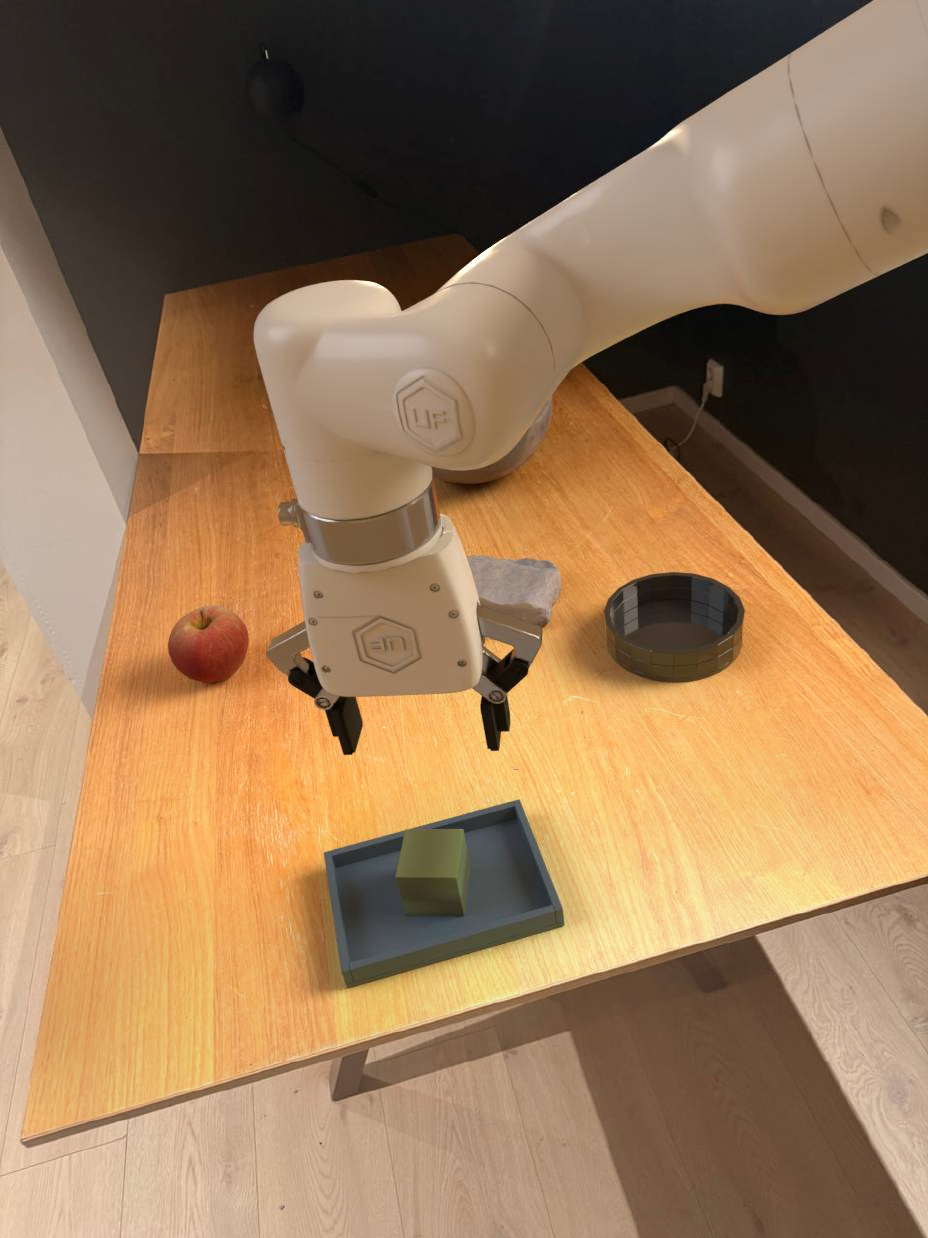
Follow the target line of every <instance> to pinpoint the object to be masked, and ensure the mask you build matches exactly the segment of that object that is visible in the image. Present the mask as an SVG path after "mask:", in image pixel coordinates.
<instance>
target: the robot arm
mask: <svg viewBox="0 0 928 1238" xmlns="http://www.w3.org/2000/svg"><path fill="white" fill-rule="evenodd" d="M926 254H928V0H872V1H870V2H869V3H867V4H865V5H863V6H861V8H859V9H857V10H856V11H854V12H853V13H851V14H850V15H848V16H847V17H845V18H843V19H842V20H840V21H839V22H837V23H835V24H834V25H832V26H831V27H829V28H827V30H825V31H822V33H820V34H818V35H816V36H815V37H814V38H812V39H811V40H809V41H807V42H806V43H804V44H803V45H801V46H800V47H798V48H796V49H795V50H793V51H792V52H790V53H789V54H787V55H786V56H784V57H783V58H781V59H779V60H778V61H776V62H774V63H773V64H771V65H770V66H768V67H766V68H765V69H763V70H762V71H760V72H759V73H758V74H756V75H754V76H752V77H751V78H749V79H747V80H746V81H744V82H742V83H741V84H739V85H738V86H736V87H734V88H733V89H730V90H729V91H727V92H726V93H725V94H723V95H722V96H720V97H718V98H717V99H716V100H714V101H713V102H710V103H709V104H708V105H706V106H705V107H703V108H702V109H700V110H698V111H697V112H695V113H694V114H692V115H690V116H689V117H687V118H686V119H684V120H682V121H681V122H680V123H679V124H676V126H675V127H673V128H672V129H671V130H669V131H668V132H667V133H666V134H664V135H663V137H661V138H660V139H659V140H657V141H656V142H655V143H654V144H652V145H651V146H649V147H647V148H646V149H645V150H643V151H642V152H640V153H638V154H637V155H635V156H633V157H632V158H630V159H628V160H627V161H626V162H623V163H622V164H620V165H619V166H617V167H615V168H614V169H612V170H611V171H609V172H607V173H606V174H604V175H603V176H600V177H598V178H597V179H596V180H594V181H592V182H591V183H589V184H588V185H586V186H584V187H583V188H581V189H580V190H578V191H577V192H575V193H573V194H571V195H570V196H569V197H567V198H566V199H564V200H562V201H560V202H559V203H558V204H556V205H554V206H553V207H551V208H550V209H548V210H547V211H545V212H543V213H542V214H541V215H539V216H537V217H535V218H534V219H532V220H531V221H528V223H526V224H524V225H522V226H521V227H520V228H518V229H517V230H515V231H513V232H512V233H510V234H508V235H507V236H506V237H504V238H503V239H501V240H499V241H498V242H496V243H495V244H493V245H492V246H491V247H489V248H487V249H486V250H484V251H483V252H481V253H480V254H479V255H478V256H477V257H475V258H474V259H472V260H471V261H470V262H468V264H466V265H465V266H464V267H462V268H461V269H460V270H458V271H457V272H456V273H455V274H454V275H453V276H452V277H451V278H449V280H447V281H446V282H445V283H444V284H443V285H442V286H441V287H440V288H439V289H437V290H436V291H435V292H434V293H433V294H431V295H430V296H428V297H426V298H424V299H423V300H421V301H419V302H417V303H415V304H413V305H411V306H409V307H408V308H405V309H404V310H402V308H401V306H400V304H399V302H398V300H397V298H396V297H395V295H394V294H392V292H391V291H390V290H389V289H388V288H386V287H384V286H383V285H380V284H378V283H376V282H373V281H368V280H367V281H366V280H357V279H344V280H341V279H340V280H331V281H325V282H318V283H315V284H310V285H305V286H303V287H299V288H296V289H294V290H291V291H289V292H287V293H284V294H282V295H280V296H278V297H276V298H275V299H273V300H271V301H269V303H266V305H265V306H264V307H263V308H262V309H261V311H259V313H258V315H257V316H256V319H255V321H254V326H253V344H254V349H255V354H256V359H257V362H258V365H259V368H260V373H261V375H262V379H263V382H264V386H265V390H266V393H267V397H268V400H269V401H268V402H269V404H270V407H271V411H272V415H273V418H274V421H275V425H276V429H277V433H278V437H279V439H280V443H281V446H282V450H283V453H284V457H285V460H286V464H287V467H288V471H289V475H290V479H291V481H292V486H293V488H294V493H295V496H296V498H293V499H291V500H290V501H284V502H280V503H279V504H278V507H277V517H278V521H279V523H280V525H281V526H283V527H287V526H293V527H295V528H299V529H300V530H301V531H302V533H303V538H304V541H303V542H302V544H301V545H300V547H299V549H298V552H297V566H298V567H297V569H298V580H299V581H298V582H299V589H300V599H301V605H302V611H303V618H304V620H303V621H302V622H300V623H298V624H296V625H294V626H293V627H290V628H289V629H287V630H286V631H284V632H282V633H281V634H279V635H276V636H275V637H273V638H271V640H270V642H269V645H268V647H267V649H266V652H265V656H266V658H267V660H269V661H270V662H271V663H272V665H274V666H275V668H277V669H278V671H279V672H281V673H282V674H283V675H285V676H287V681H288V684H290V685H291V686H292V687H294V688H296V689H297V690H299V691H300V692H302V693H304V694H305V695H307V696H308V697H310V698H312V699H314V700H313V703H314V706H315V707H316V708H317V709H318V710H321V711H324V713H325V715H326V719H327V723H328V727H329V729H330V732H331V735H332V737H333V738H338V742H339V745H340V748H341V752H342V753H343V756H352V755H353V754H355V753H356V751H357V747H358V745H359V741H360V737H361V734H362V731H363V727H364V722H363V718H362V714H361V711H360V706H359V703H358V701H357V698H365V697H366V698H368V697H369V698H370V697H392V696H393V697H396V696H397V697H399V696H419V695H421V696H423V695H444V694H455V693H456V694H457V693H462V692H466V691H469V690H471V689H472V690H474V691H475V692H476V693H478V694H479V695H480V696H481V698H480V704H479V706H480V716H481V721H482V726H483V731H484V736H485V743H486V748H487V750H490V752H499V751H500V747H501V738H502V737H501V736H502V732H505V733H506V732H507V733H508V732H511V731H510V729H511V710H510V705H509V697H508V693H509V692H511V691H512V689H514V688H515V687H516V686H517V685H518V684H520V683H521V681H522V680H524V679H525V678H526V677H527V676H528V674H529V669H530V668H531V665H532V664H534V661H535V659H536V657H537V656H538V653H539V651H540V649H541V648H542V644H543V632H544V631H543V628H542V627H540V626H538V625H536V624H533V623H530V622H527V621H524V620H521V619H518V618H515V617H513V616H510V615H507V614H504V613H501V612H498V611H495V610H492V609H489V608H487V607H484V606H481V605H480V601H479V597H478V593H477V590H476V586H475V582H474V579H473V575H472V572H471V569H470V566H469V563H468V560H467V557H468V556H467V554H466V552H465V548H464V546H463V544H462V541H461V539H460V536H459V534H458V531H457V529H456V527H455V525H454V523H453V521H452V519H451V518H450V517H449V516H448V515H447V514H444V513H443V514H442V513H441V511H440V506H439V500H438V495H437V489H436V485H435V478H434V477H433V473H432V467H436V468H441V469H448V470H460V471H465V470H474V469H479V468H483V467H485V466H488V465H491V464H493V463H495V462H497V461H498V460H500V459H501V458H503V457H504V456H505V455H507V454H508V453H509V452H510V451H511V450H512V449H513V448H514V447H515V445H516V444H517V443H518V442H519V441H520V439H521V438H522V437H523V435H524V434H525V433H526V431H527V430H528V428H529V427H530V425H531V424H532V423H533V421H534V420H535V418H536V417H537V416H538V414H539V413H540V412H541V410H542V408H543V407H544V405H545V404H546V402H547V401H548V400H549V398H550V397H553V395H554V393H555V392H556V391H557V388H558V387H559V386H560V384H561V383H562V382H563V381H564V380H565V378H566V377H567V376H568V374H569V373H570V371H571V370H573V369H574V368H575V367H576V366H578V365H580V364H581V363H583V362H585V361H586V360H588V359H589V358H591V357H593V356H594V355H597V354H598V353H600V352H602V351H604V350H606V349H608V348H610V347H612V346H613V345H616V344H617V343H620V342H622V341H623V340H625V339H627V338H630V337H632V336H633V335H636V334H639V333H640V332H641V331H643V330H644V331H645V330H646V329H647V328H649V327H652V326H654V325H656V324H658V323H660V322H663V321H665V320H668V319H670V318H672V317H675V316H677V315H681V314H683V313H686V312H688V311H691V310H694V309H699V308H703V307H708V306H714V305H715V306H716V305H734V306H740V307H744V308H746V309H749V310H753V311H755V312H759V313H763V314H766V315H774V316H786V315H795V314H799V313H802V312H805V311H808V310H810V309H812V308H814V307H817V306H819V305H821V304H823V303H825V302H828V301H829V300H832V299H834V298H835V297H838V296H840V295H841V294H844V293H846V292H848V291H849V290H853V289H854V288H856V287H859V286H860V285H862V284H865V283H867V282H869V281H871V280H873V279H875V278H877V277H879V276H881V275H884V274H885V273H888V272H890V271H892V270H895V269H897V268H898V267H901V266H903V265H905V264H907V263H909V262H911V261H913V260H915V259H918V258H920V257H923V256H924V255H926ZM486 638H488V639H490V640H494V641H496V642H500V643H503V644H506V645H509V646H511V647H513V648H512V649H511V650H510V651H509V652H508V653H507V654H506V655H505V656H504V657H503V658H502V659H501V658H500V657H498V656H497V655H496V654H495V653H494V652H492V651H491V650H490V649H488V648H487V647H486V646H485V643H486ZM307 649H309V650H310V653H311V658H312V660H310V659H309V658H308V657H306V656H305V657H303V654H302V652H304V651H306V650H307Z"/></svg>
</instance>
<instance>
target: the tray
mask: <svg viewBox="0 0 928 1238" xmlns="http://www.w3.org/2000/svg"><path fill="white" fill-rule="evenodd" d="M410 829H463V830H464V834H465V840H466V845H467V850H468V855H469V860H470V866H471V871H470V878H469V886H468V893H467V901H466V908H465V915H464V916H419V915H405V911H404V908H403V904H402V900H401V896H400V893H399V889H398V885H397V881H396V878H395V876H396V871H397V866H398V862H399V857H400V852H401V847H402V843H403V838H404V833H405V829H404V830H400V831H397V832H393V833H389V834H386V835H382V836H379V837H375V838H371V839H367V840H363V841H360V842H356V843H352V844H349V845H345V846H342V847H337V848H333V849H331V850H326V851H323V859H324V865H325V871H326V878H327V885H328V891H329V899H330V904H331V910H332V918H333V924H334V931H335V939H336V945H337V951H338V952H337V953H338V957H339V958H338V959H339V965H340V972H341V975H342V978H343V981H344V983H345V987H346V988H347V989H350V988H354V987H357V986H359V985H364V984H367V983H371V982H374V981H378V980H381V979H384V978H388V977H391V976H394V975H399V974H402V973H405V972H409V971H412V970H415V969H419V968H423V967H426V966H429V965H430V966H431V965H433V964H436V963H439V962H443V961H446V960H451V959H454V958H457V957H461V956H464V955H467V954H470V953H474V952H478V951H481V950H485V949H488V948H491V947H495V946H498V945H502V944H505V943H506V944H507V943H510V942H514V941H515V940H519V939H523V938H527V937H530V936H533V935H537V934H540V933H545V932H547V931H550V930H554V929H558V928H560V927H561V928H562V927H564V926H565V915H564V908H563V905H562V903H561V901H560V898H559V895H558V892H557V890H556V887H555V885H554V882H553V879H552V878H551V875H550V871H549V869H548V867H547V865H546V862H545V860H544V858H543V855H542V852H541V850H540V847H539V844H538V842H537V839H536V837H535V834H534V832H533V829H532V827H531V824H530V822H529V819H528V816H527V815H526V812H525V809H524V807H523V804H522V801H521V799H519V798H518V799H515V800H513V801H512V800H511V801H507V802H504V803H503V802H502V803H500V804H496V805H493V806H488V807H485V808H482V809H478V810H473V811H471V812H467V813H462V814H459V815H456V816H455V815H454V816H452V817H449V818H445V819H441V820H437V821H435V822H430V823H426V824H423V825H422V824H421V825H419V826H415V827H412V828H410Z"/></svg>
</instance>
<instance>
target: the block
mask: <svg viewBox="0 0 928 1238" xmlns="http://www.w3.org/2000/svg"><path fill="white" fill-rule="evenodd" d="M404 830H405V833H404V838H403V843H402V847H401V852H400V857H399V862H398V866H397V871H396V876H395V878H396V881H397V885H398V889H399V893H400V896H401V900H402V904H403V908H404V911H405V915H419V916H464V915H465V908H466V901H467V893H468V886H469V878H470V871H471V866H470V860H469V855H468V850H467V845H466V840H465V834H464V830H463V829H411V828H405V829H404Z"/></svg>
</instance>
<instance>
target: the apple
mask: <svg viewBox="0 0 928 1238" xmlns="http://www.w3.org/2000/svg"><path fill="white" fill-rule="evenodd" d="M170 631H171V632H170V634H169V638H168V642H167V651H168V655H169V658H170V660H171V662H172V664H173V666H174V668H176V669H177V670H178V671H179V672H180V673H181V674H182V675H183V676H185V677H186V678H187V679H189V680H192V681H195V682H199V683H207V684H208V683H215V682H216V683H217V682H222V681H226V680H228V679H229V678H231V677H232V676H234V675H235V673H237V672H238V670H239V669H241V666H242V665H243V663H244V661H245V660H246V656H247V653H248V649H249V643H250V638H249V637H250V636H249V631H248V628H247V626H246V624H245V623H244V621H243V620H242V619H241V617H240V616H238V614H236V613H235V612H234V611H233V610H231V609H230V608H228V607H225V606H223V605H217V604H209V605H204V606H201V607H199V608H195V609H193V610H192V611H191V610H190V612H188V613H186V614H185V615H183V616H182V617H181V618H179V620H178V621H177V622H176V623H175V624H174V626H173V627H172V629H171V630H170Z"/></svg>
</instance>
